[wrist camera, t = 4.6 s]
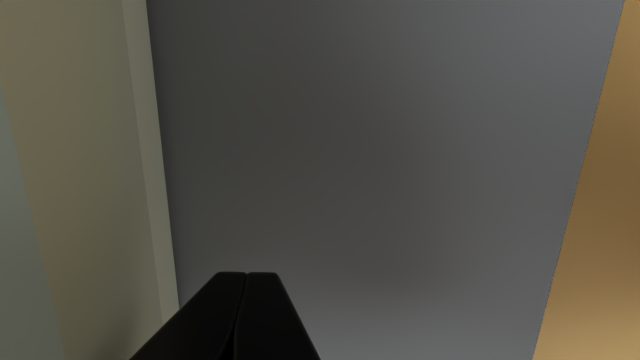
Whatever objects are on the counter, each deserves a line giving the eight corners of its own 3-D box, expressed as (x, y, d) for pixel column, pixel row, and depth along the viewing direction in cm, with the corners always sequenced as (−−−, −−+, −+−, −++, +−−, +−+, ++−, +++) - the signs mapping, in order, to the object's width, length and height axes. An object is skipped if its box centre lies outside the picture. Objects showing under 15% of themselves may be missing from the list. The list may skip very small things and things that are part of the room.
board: (641, -245, 8) (844, -303, 5) (487, 436, 14) (532, 600, 11) (-723, -285, 8) (-1407, -372, 5) (-276, 420, 14) (-445, 581, 11)
